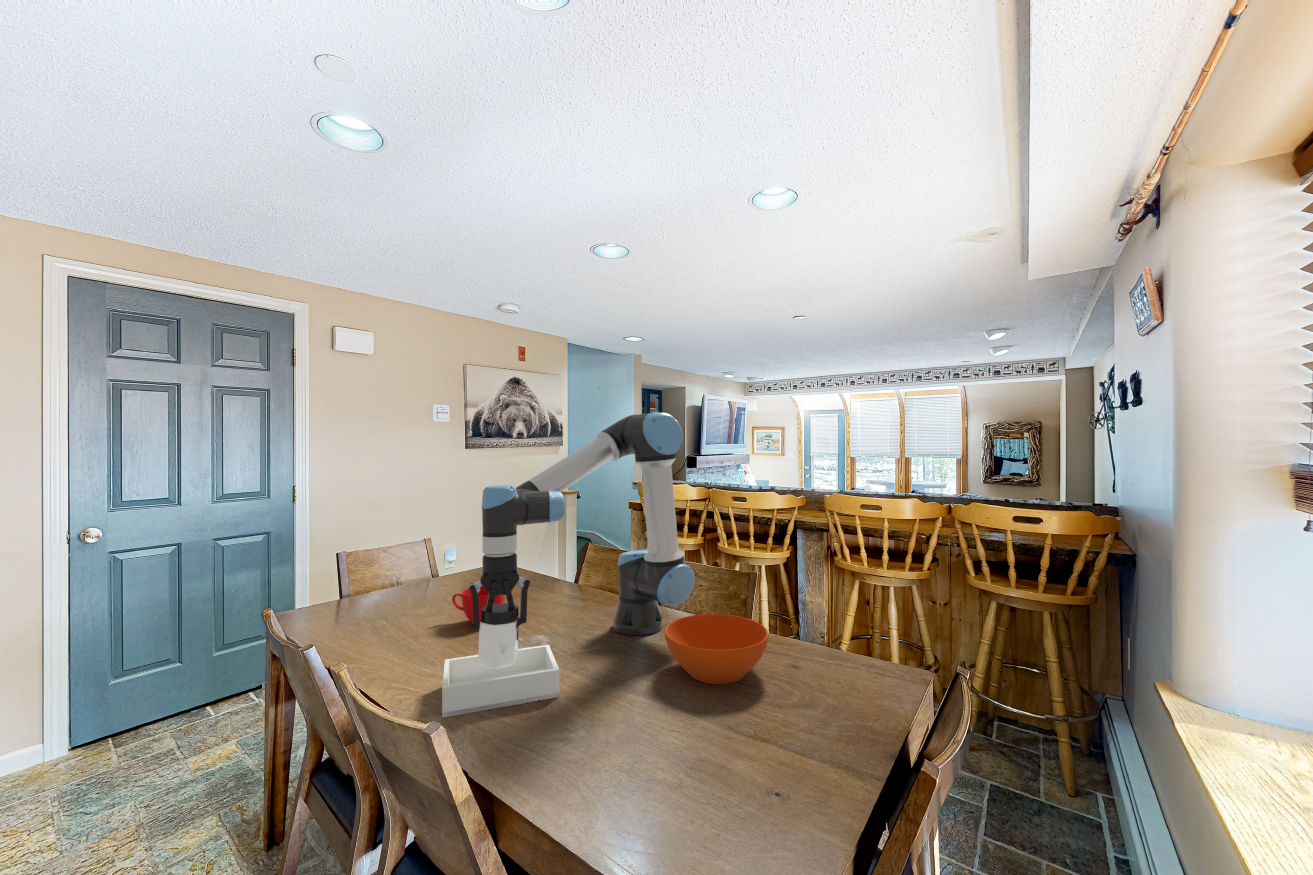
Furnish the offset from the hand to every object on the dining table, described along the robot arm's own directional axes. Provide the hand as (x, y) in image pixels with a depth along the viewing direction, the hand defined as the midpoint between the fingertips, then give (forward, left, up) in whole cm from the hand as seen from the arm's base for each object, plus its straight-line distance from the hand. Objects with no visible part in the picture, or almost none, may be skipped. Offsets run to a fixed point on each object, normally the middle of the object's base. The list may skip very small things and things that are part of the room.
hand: (500, 656), depth 118 cm
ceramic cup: (+4, -52, -8) cm, 53 cm away
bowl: (-50, +9, -8) cm, 51 cm away
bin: (0, 0, -8) cm, 8 cm away
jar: (0, 0, -1) cm, 1 cm away
